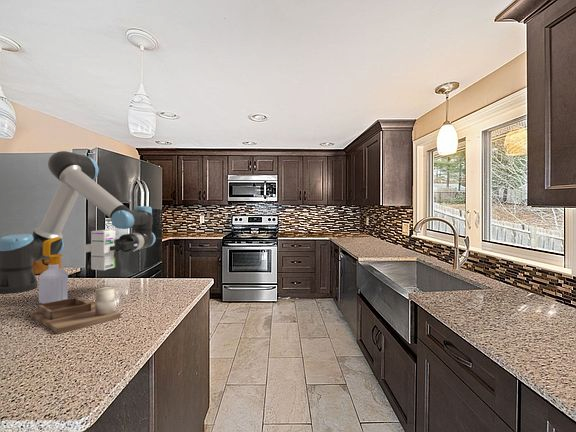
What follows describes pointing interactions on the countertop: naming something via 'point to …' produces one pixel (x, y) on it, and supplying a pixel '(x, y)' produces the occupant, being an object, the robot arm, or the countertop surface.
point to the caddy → (77, 311)
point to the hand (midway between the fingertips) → (94, 249)
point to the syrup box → (97, 257)
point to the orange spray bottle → (43, 265)
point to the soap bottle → (52, 278)
